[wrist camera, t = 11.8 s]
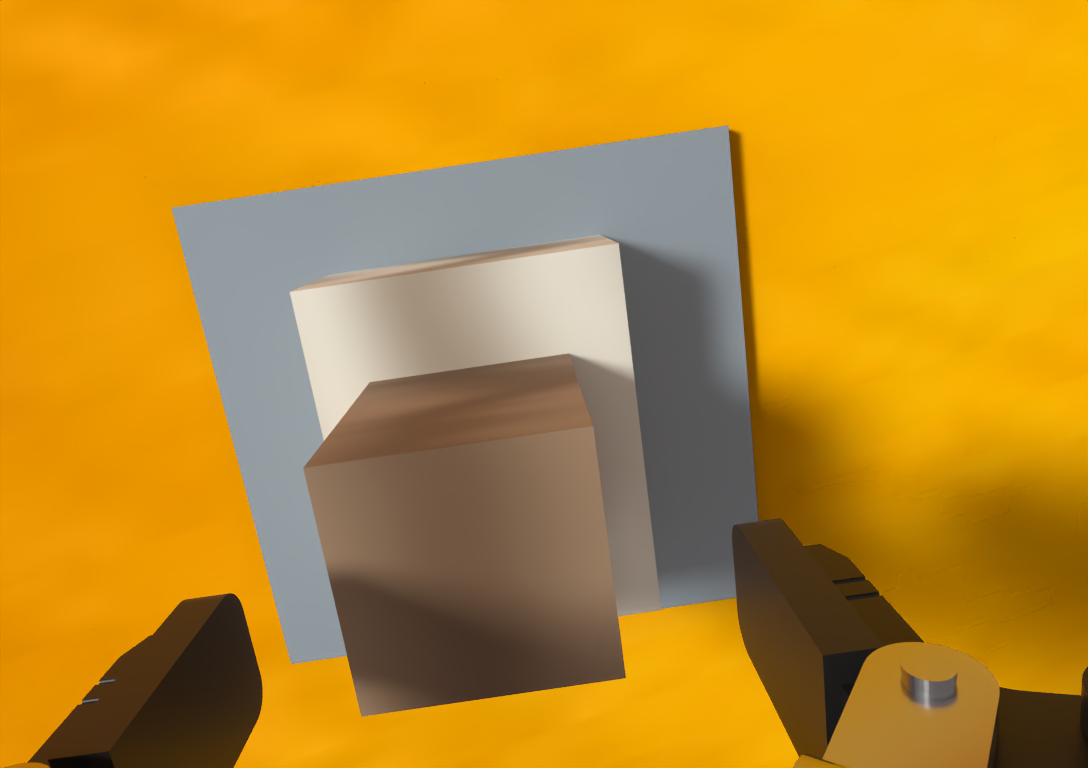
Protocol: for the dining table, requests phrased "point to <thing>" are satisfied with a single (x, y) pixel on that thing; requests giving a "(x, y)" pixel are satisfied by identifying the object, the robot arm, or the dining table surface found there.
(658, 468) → the mat
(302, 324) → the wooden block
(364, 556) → the walnut block
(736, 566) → the robot arm
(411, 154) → the dining table surface
